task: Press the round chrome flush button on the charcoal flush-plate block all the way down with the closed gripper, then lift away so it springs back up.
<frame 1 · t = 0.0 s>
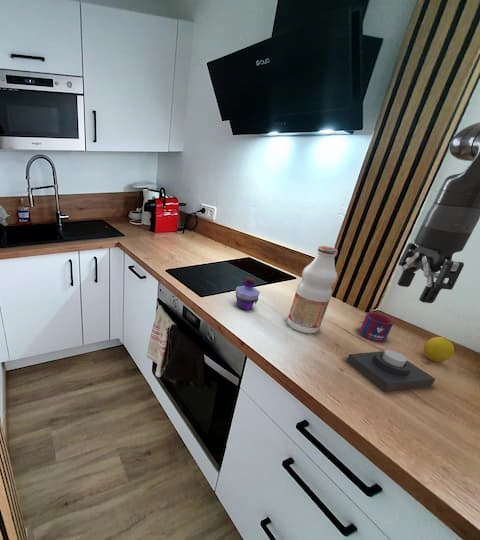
hand: (413, 293, 67), 25 cm above the worktop, tool pointing down, fingers open, 8 cm apart
fruit juice: (301, 326, 97), on the worktop
flush plate: (386, 373, 77), on the worktop
mug: (370, 333, 94), on the worktop
potion bottle: (243, 307, 108), on the worktop
lemon: (431, 360, 83), on the worktop
flush button: (393, 358, 75), point 5 cm above the worktop, slide at 0.1 cm
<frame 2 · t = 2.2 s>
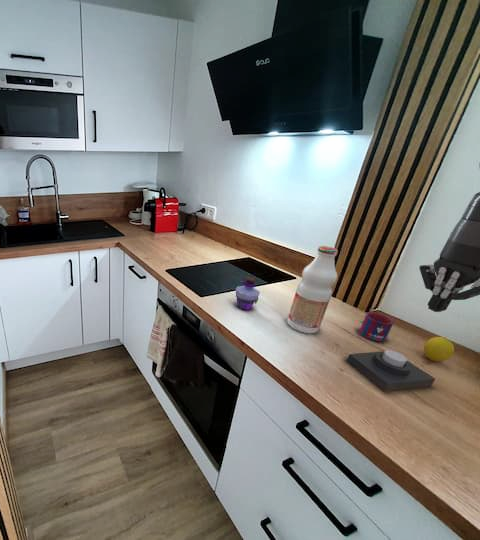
hand: (434, 310, 68), 21 cm above the worktop, tool pointing down, fingers closed
nothing on the worktop moved.
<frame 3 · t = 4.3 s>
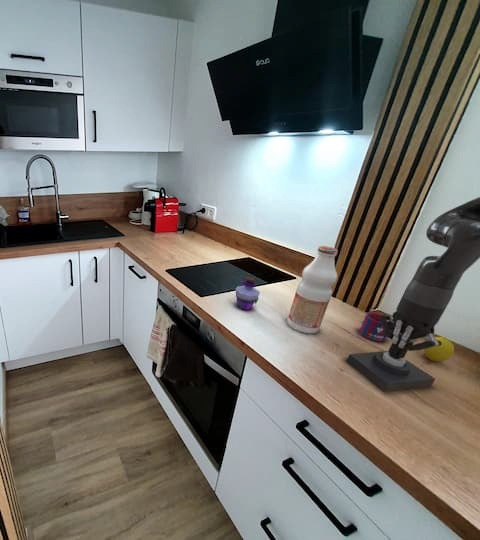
hand: (394, 356, 75), 6 cm above the worktop, tool pointing down, fingers closed
flush button: (393, 360, 75), point 5 cm above the worktop, slide at -0.4 cm, touching gripper
everything else where it was.
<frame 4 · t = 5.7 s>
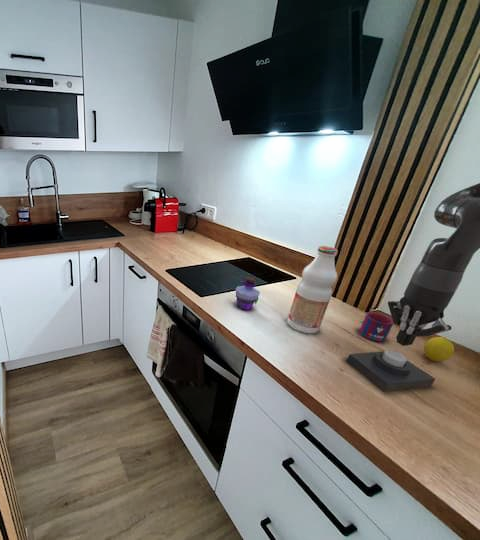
hand: (402, 343, 73), 10 cm above the worktop, tool pointing down, fingers closed
flush button: (393, 358, 75), point 5 cm above the worktop, slide at 0.1 cm
everything else where it was.
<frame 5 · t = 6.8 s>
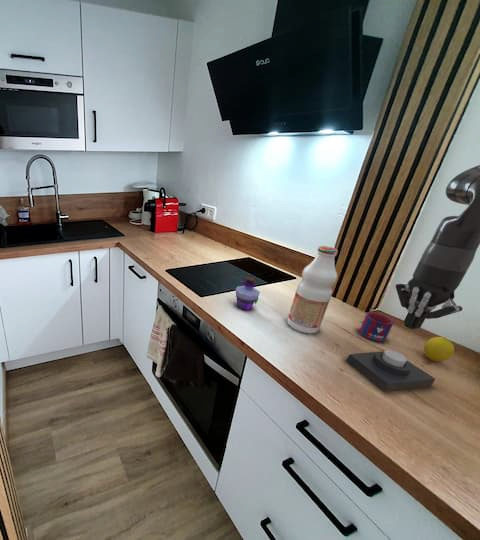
hand: (410, 327, 71), 15 cm above the worktop, tool pointing down, fingers closed
nothing on the worktop moved.
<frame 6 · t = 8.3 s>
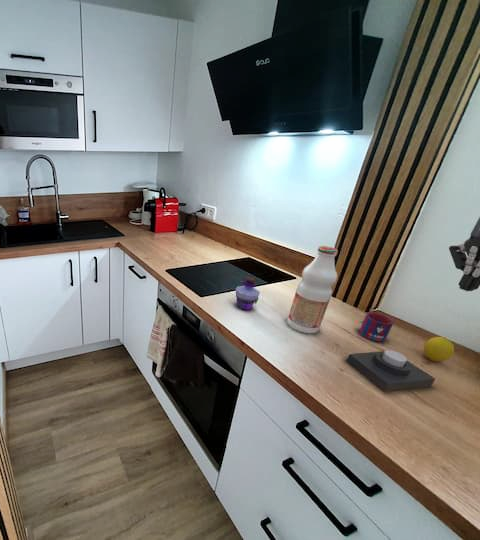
hand: (465, 289, 69), 25 cm above the worktop, tool pointing down, fingers closed
nothing on the worktop moved.
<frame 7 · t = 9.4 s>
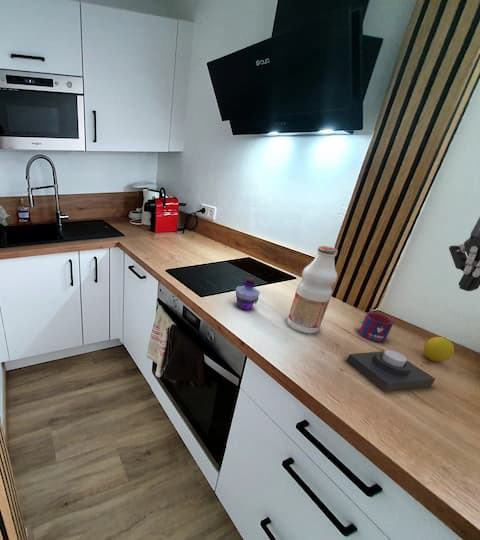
hand: (465, 289, 69), 25 cm above the worktop, tool pointing down, fingers closed
nothing on the worktop moved.
at the end: flush button pushed in 1.1 cm at the most during the clip, back to where it started at the end; flush button slide at 0.1 cm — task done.
